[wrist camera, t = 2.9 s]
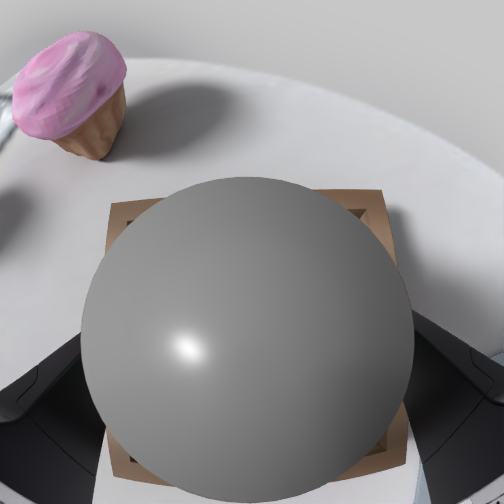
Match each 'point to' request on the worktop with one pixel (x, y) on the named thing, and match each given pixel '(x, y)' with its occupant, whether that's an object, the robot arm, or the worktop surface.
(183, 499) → the worktop surface
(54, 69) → the cupcake
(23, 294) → the worktop surface
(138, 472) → the walnut frame
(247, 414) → the plastic jar
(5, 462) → the robot arm
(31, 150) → the worktop surface
